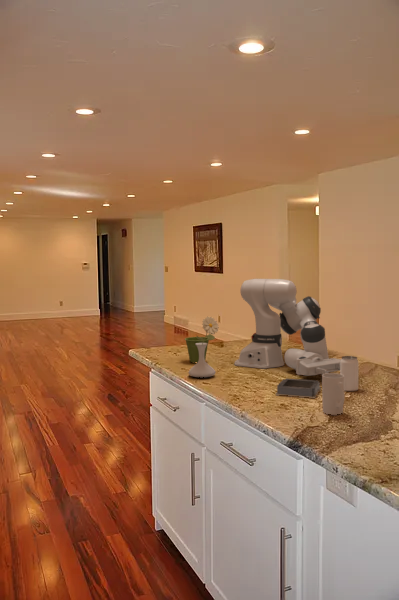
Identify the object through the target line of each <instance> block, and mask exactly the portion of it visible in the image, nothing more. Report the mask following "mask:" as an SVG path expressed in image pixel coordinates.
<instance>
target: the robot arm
mask: <svg viewBox="0 0 399 600" xmlns="http://www.w3.org/2000/svg"><path fill="white" fill-rule="evenodd" d="M297 293H298V292H297V286H296V285H295V283H294V282H293V281H292V280H288V279H283V278H251V279H246V280H244V281H243V282H242V283H241V287H240V296H241V298H242V299H243V300H244V302H246V303H247V304H248V305H249V306H250V308H251V310H252V312H253V315H254V319H255V332H254V333H252V334H251V338H250V340H252V341H251V342H249V344H247V345H246V346H244V347H243V348H242V349H241V350H240V352H239V357H238V359H236V360H235V361H234V365H235V366H237V367H246V368H256V369H257V368H258V369H270V368H278V367H283V366H285V364H286V366H287V367H289V368H291V369H293V370H295V371H296V372H295V373H296V374H297V375H298V376H302V375H303V376H309V377H310V376H317V375H323V374H326V373H335V372H340V361H341V359H342V358H336V357H335V358H334V357H333V358H329V352H328V350H329V349H328V345H327V339H326V329H325V327H324V326H323V325H321V324H319V322H318V321H317V320H318V319H321V317H320V315H321V312H322V310H321V309H322V308H321V305H320V304H319V301H318V300H317V299H315V298H314V297H312V296H309V295H308V296H305V297H303V298H302V300H300V301H299V302H298V301H297V296H296V295H297ZM270 306H271V308H274V309H276V310H279V311H281V312H280V313H279V314H278V313H277V312H276V311H273V309H271V308H270ZM281 330H282V331H283V332H284V333H286V334H287V335H289V336H290V335H294V334H296V333H297V332H298V331H300V333H299V334H300V340H301V343H302V345H303V349H299V348H288V349H286V351H285V353H284V356H283V353H282V345H283V336H282V333H281V332H282V331H281ZM283 357H284V358H283Z"/></svg>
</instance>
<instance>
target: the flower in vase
mask: <svg viewBox="0 0 399 600" xmlns="http://www.w3.org/2000/svg"><path fill="white" fill-rule="evenodd" d="M201 325H202V329H203V330H204V331H205V336H204V337H205V338H206V337H207V338H208V339H209V341H213V340H215V339H216V337H215V336H214V335H215V334H216V333H217V332H219V323H218V322H217V320H215V318H214V317H212V316H206V317H204V319H202V324H201ZM196 337H197V339H199V340H203V342H204V340H205V338H204V339H203V338H200V337H201V336H198V335H196ZM203 342H202V343H196V346H197V347H198V351H199V361H198V363H196V364H194V365H193V366H191V368H190V369H189V370H188V375H189V376H191V377H193V378H199V377H200V378H199V379H201V378H202V379H203V377H204V378H210V377H213V376H215V375H216V370H215V369H214V368H213V367H212V366H211V365H210V364H209V363H208V362H206V359H205V358H204V353H205V348H206V346H207V343H203ZM207 347H208V346H207Z"/></svg>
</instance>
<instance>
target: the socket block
mask: <svg viewBox="0 0 399 600" xmlns="http://www.w3.org/2000/svg"><path fill="white" fill-rule="evenodd" d="M320 384H321V383H320V381H319V380H314V379H313V380H312V379H301V378H300V379H298V378H285V379H282V380H281V381H280V383H278V384H277V386H276V388H277V391H276V392H275V394H276V395H275V396H279V395H288V396H287V397H292V396H299V397H298V398H304V397H309V398H308V399H316V398H317V396H316V395H318V394H319V393H318V392H320V391H321V390H322V386H321V385H320Z"/></svg>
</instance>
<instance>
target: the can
mask: <svg viewBox="0 0 399 600" xmlns="http://www.w3.org/2000/svg"><path fill="white" fill-rule="evenodd" d="M340 359H341V361H340V371H339V372H340V373H339V374H342V375H344V392H356V391H358V390H359V359H358V357H357V356H354V355H353V356H352V355H344V356H341V358H340Z"/></svg>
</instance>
